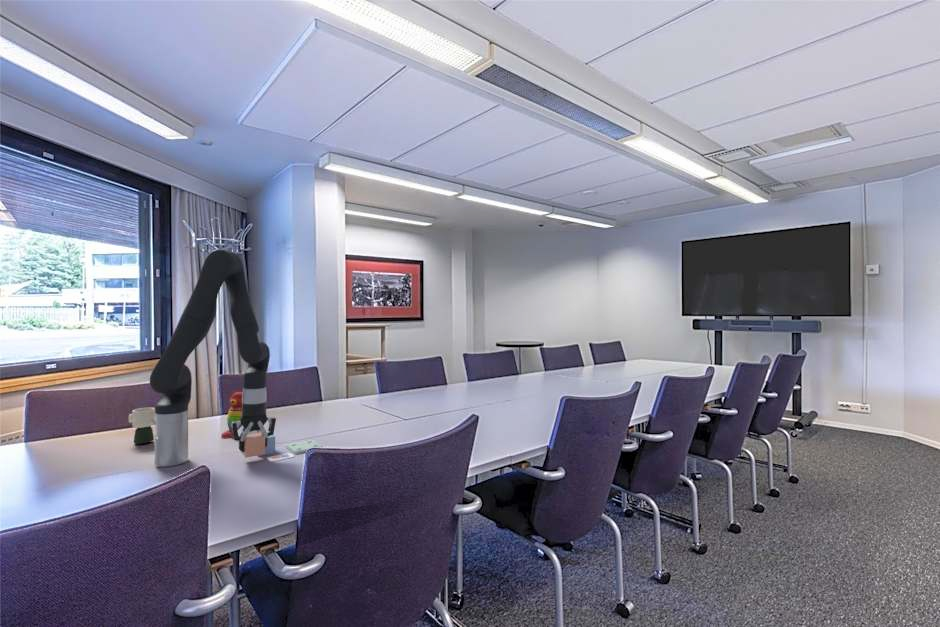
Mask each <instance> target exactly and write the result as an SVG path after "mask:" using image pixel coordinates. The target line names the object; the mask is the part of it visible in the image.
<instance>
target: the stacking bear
mask: <svg viewBox="0 0 940 627" xmlns="http://www.w3.org/2000/svg"><path fill="white" fill-rule="evenodd" d="M242 393H243V391H234V392H232V395H231V396H230V398H229V404H230V408H229V410H228V413H227V418H226V421H227V422H226V424H227V427H228V430H226V431H224V432H222V433H221V438H223V439H227V438H228V439H233V435H232V428H231V422H233V421H234V422H237V421H240V420H241V418H242ZM241 427H242V425H241V424H240V425H239V428H237V430H238V429H240V428H241ZM238 436H239V435H238Z"/></svg>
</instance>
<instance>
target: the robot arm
mask: <svg viewBox="0 0 940 627" xmlns="http://www.w3.org/2000/svg"><path fill="white" fill-rule="evenodd" d="M224 283H225V286H226V288H227V290H228V291H227V292H228V295H229V312H230V318H231V321H232V323H233V326H234V330H235V333H236V334H237V346H238V352H239V355H240V357H241V360H243V362H244V363H247V364H248V365H247V369H246V371H245V372H244V374H243V380H242V381H243V385H242V392H243V393H242V418H241V420H240V421H237V422H234V421H233V422H231V428H232V435H233V438H232V439H233V440H234V441H238V449H239V452H240V453H241V452H244V444H245V441H244V440H245V438H246V436H247V435H248V433H249V432H251V431H254V430H255V431H258V430H260V432H261V433H262V434H263V435H264V436H265V447H267V438H268V436H270V435H274V433H275V427H276V421H277V419H276V418H275V417H274V416H269V417H268V416H267V394H268V393H267V372H268V369H269V368H268V367H269V363H270V356H271V353H270V352H271V351H270V347H269V346H268V345H267V344H266V342H264V341H259V336H258V333H259V331H260V327H259V324H258V321H257V320H258V319H257V318H256V315H255V312H254V309H253V306H252V303H251V300H250V299H251V298H250V296H249V291H248V286H247V282H246V276H245V269H244V264H243V260H242V258H241V257H240V255H238V253H236V252H234V251H229V250H225V249H221V248H219V249H218V248H217V249H213V250H211V251H210V252H209V253H207V255H206V257H205V259H204V261H203V264H202V267H201V270H200V272H199V276H198V279H197V282H196V284H195V287H194V289H193V291H192V293H191V295H190V297H189V299H188V302H187V304H186V306H185V307H184V309H183V310H182V311H183V312H182V313H181V315H180V318H179V320H178V322H177V325H176V327H175V329H174V332H173V333H172V335H171V337H170V339H169V342H168V344H167V346H166V348H165V350H164V351H163V353H162V355H161V356H160V358H159V359H158V361H157V363H156V365H155V366H154V367H153V370H152V371H151V374H150V375H149V376H150V377H149V385H150V388H151V389H152V391H154V392H156V393H158V394H162V396H161V398H160V399H159V401H158V402H157V403H156V404H155V407H154V408H155V423H154V425H155V426H154V427H155V431H154V432H155V433H154V465H155V467H156V468H161V467H164V468H165V467H173V466H178V465H181V464H184V463H187V462H188V461H189V404H190V402H191V398H192V382H193V381H192V371H191V370H190V368H189V367H188V365H186V362H187V360H188V358H189V356H191V354H192V353H193V352H194V350H195V349H196V348H197V347H199V345H200V344H201V343H202V342H203V340H204V339H205V338H206V336H207V335H208V334H209V331H210V329H211V327H212V325H213V323H214V321H215V318H216V315H217V302H218V294H219V292H220V290H221V288H222V286H223V284H224ZM266 423H268V431H266V428H265V424H266ZM240 424H241V425H242V426H243V427H244V428H243V429H242V432H241V434H240V436H238V431H237V428H239V425H240Z"/></svg>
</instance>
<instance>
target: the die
mask: <svg viewBox="0 0 940 627" xmlns="http://www.w3.org/2000/svg"><path fill="white" fill-rule="evenodd" d="M243 428H244V427H243V426H242V427H241V428H240V429H238V430H237V431H238V435H239V436H240V434H241V432H242V429H243ZM254 433H261V432H260V430H258V431H255V430H254V431H251V432H249V433H248V434H254Z"/></svg>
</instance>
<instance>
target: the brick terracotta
mask: <svg viewBox="0 0 940 627" xmlns="http://www.w3.org/2000/svg"><path fill="white" fill-rule="evenodd" d="M244 441H245V444H244V452H241V451H240V453H241V454H242V455H243V456H244V458H251V457H259V456H258V455H262V456H265V455H264V454H265V436H264V435H263V434H262V433H254V434H248V435H247V436H246V438H245V440H244Z"/></svg>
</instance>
